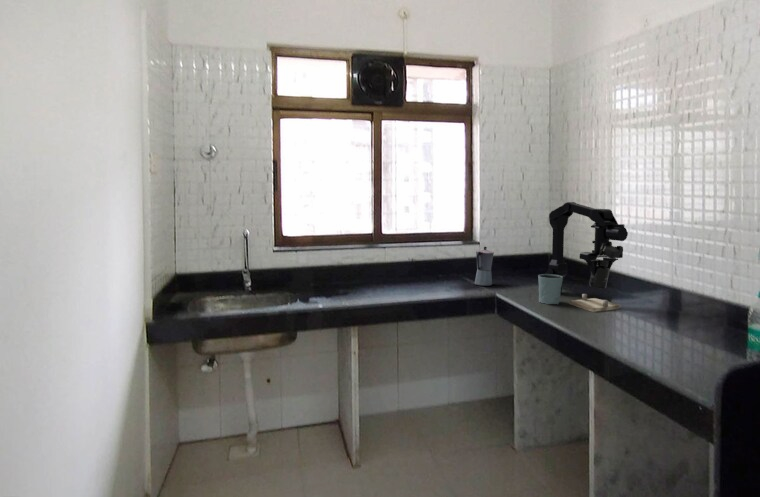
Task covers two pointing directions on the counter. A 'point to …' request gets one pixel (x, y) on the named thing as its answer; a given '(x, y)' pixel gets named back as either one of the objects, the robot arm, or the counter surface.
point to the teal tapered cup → (549, 288)
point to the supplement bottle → (600, 275)
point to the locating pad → (594, 304)
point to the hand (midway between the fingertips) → (600, 275)
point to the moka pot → (484, 267)
